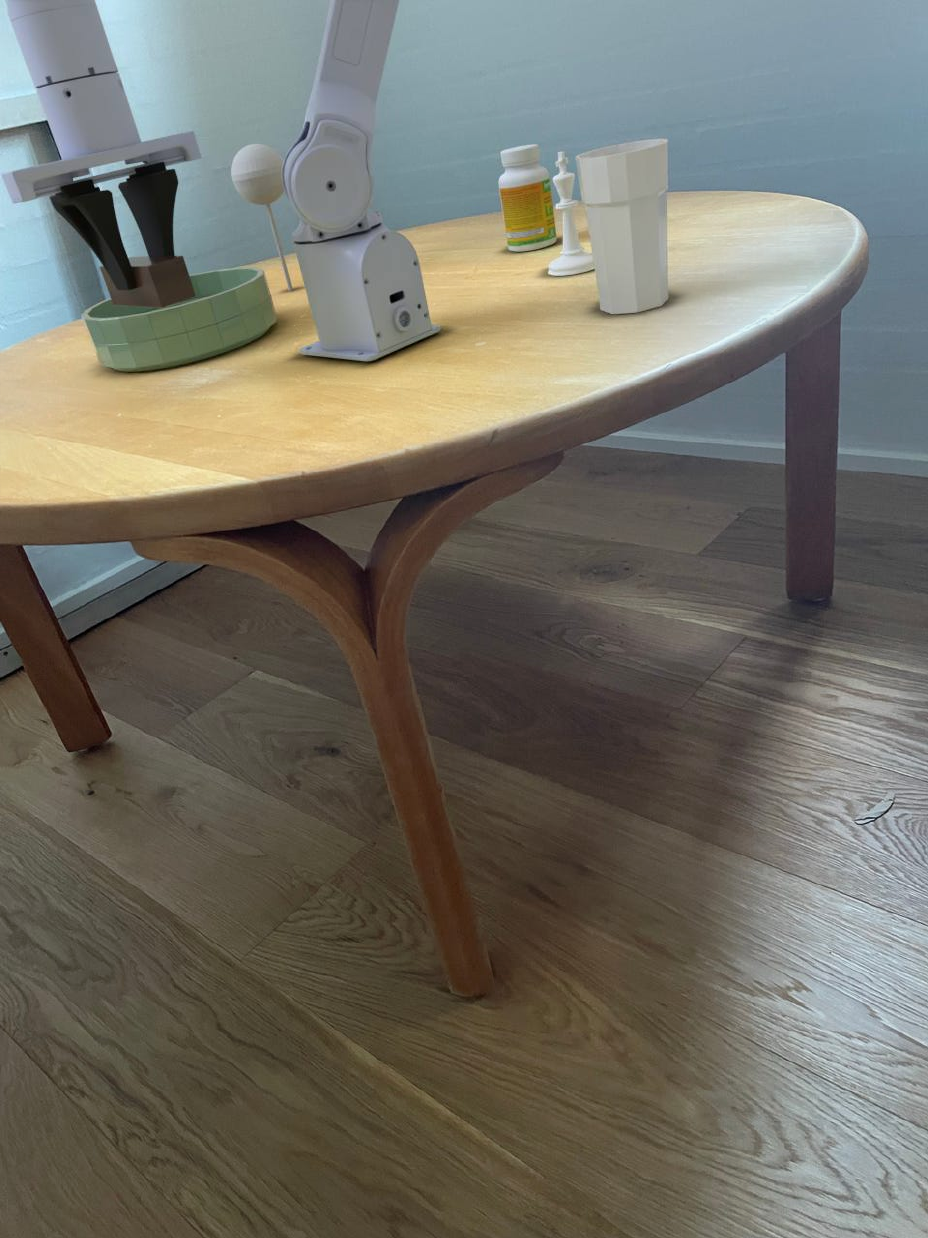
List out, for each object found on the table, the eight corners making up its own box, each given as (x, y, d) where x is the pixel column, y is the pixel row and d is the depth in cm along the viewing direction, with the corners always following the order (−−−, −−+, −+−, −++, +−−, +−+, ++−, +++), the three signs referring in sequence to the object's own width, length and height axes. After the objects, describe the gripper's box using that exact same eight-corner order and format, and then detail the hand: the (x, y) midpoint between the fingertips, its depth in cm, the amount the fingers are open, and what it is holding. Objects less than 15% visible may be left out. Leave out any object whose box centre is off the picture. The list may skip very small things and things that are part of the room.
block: (196, 296, 69) (183, 255, 68) (162, 307, 68) (148, 266, 66) (146, 294, 75) (132, 256, 73) (113, 305, 73) (98, 266, 71)
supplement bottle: (559, 245, 97) (546, 144, 92) (508, 255, 97) (493, 155, 92) (555, 237, 101) (543, 140, 96) (507, 246, 102) (493, 150, 97)
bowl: (312, 320, 88) (298, 266, 85) (156, 381, 78) (135, 323, 76) (219, 314, 99) (204, 266, 96) (73, 367, 90) (52, 315, 87)
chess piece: (609, 260, 86) (597, 143, 81) (586, 274, 83) (573, 153, 78) (563, 263, 89) (549, 150, 84) (539, 277, 86) (523, 160, 80)
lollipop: (305, 293, 100) (265, 142, 93) (257, 300, 102) (213, 152, 94) (323, 279, 105) (287, 135, 98) (277, 287, 107) (238, 145, 99)
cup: (640, 319, 67) (626, 154, 62) (574, 314, 72) (556, 161, 66) (695, 293, 71) (687, 135, 65) (629, 290, 75) (616, 142, 70)
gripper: (141, 73, 70) (199, 257, 77) (-45, 106, 62) (39, 308, 69) (188, 59, 65) (246, 256, 72) (-7, 92, 58) (79, 311, 64)
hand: (147, 282), depth 70 cm, fingers closed on block, 3 cm apart
